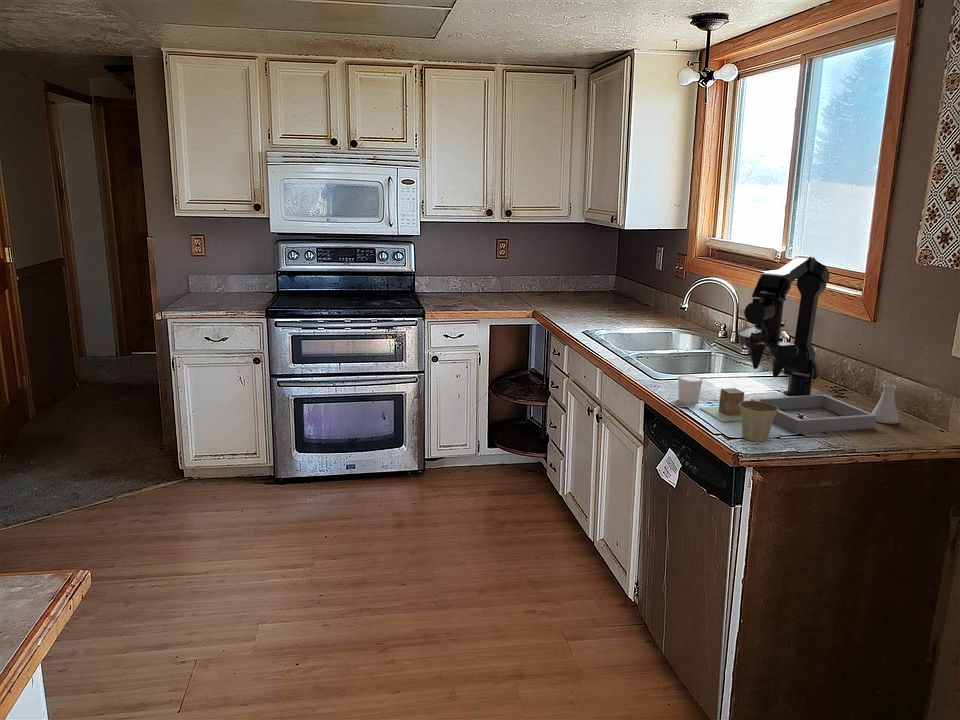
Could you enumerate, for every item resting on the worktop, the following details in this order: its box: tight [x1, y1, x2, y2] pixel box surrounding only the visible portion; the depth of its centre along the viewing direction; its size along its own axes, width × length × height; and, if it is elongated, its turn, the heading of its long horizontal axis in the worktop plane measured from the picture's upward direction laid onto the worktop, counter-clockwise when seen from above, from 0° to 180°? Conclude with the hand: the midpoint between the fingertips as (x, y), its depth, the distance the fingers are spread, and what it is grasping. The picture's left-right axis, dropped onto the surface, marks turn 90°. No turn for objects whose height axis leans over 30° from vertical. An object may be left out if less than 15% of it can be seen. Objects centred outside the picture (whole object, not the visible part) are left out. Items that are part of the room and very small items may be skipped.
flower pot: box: [739, 400, 779, 443], centre depth 187 cm, size 9×9×9 cm
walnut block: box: [718, 387, 745, 416], centre depth 206 cm, size 4×4×6 cm
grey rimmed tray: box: [750, 393, 877, 435], centre depth 204 cm, size 20×24×4 cm
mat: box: [699, 406, 742, 423], centre depth 207 cm, size 12×12×1 cm
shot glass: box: [677, 375, 703, 405], centre depth 218 cm, size 7×7×7 cm
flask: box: [871, 384, 900, 425], centre depth 204 cm, size 7×7×10 cm
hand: (765, 372), depth 207 cm, fingers open, 9 cm apart
